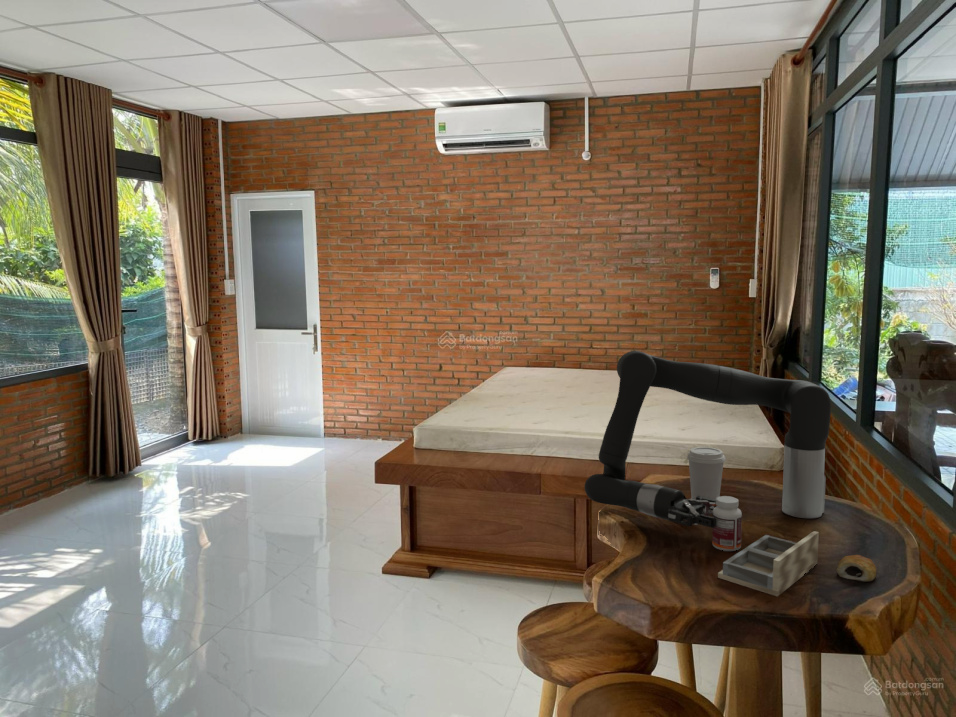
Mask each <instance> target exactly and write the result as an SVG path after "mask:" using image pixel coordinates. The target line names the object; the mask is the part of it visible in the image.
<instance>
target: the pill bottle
mask: <svg viewBox="0 0 956 717" xmlns="http://www.w3.org/2000/svg"><path fill="white" fill-rule="evenodd" d="M739 504H740V503H739V499H738V498H736V497H733V496H729V495H722V496H721V495H720V496H719V497H717V498H716V505H717V507H715V508H714V509H713V514H712V517H715V518H716V527H715V528H711V529H712V530H711V531H712V534H711V536H712V537H711V543H712V546H713V547H714V548H715V549H717V550H718V551H722V550H723V552H736V550H737V551H739V550H741V548H742V534H743V533H742V532H743V530H742V528H743V527H742V524H743V523H742V522H743V521H742V520H743V514H742V510H741V509H740V508H739Z"/></svg>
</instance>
